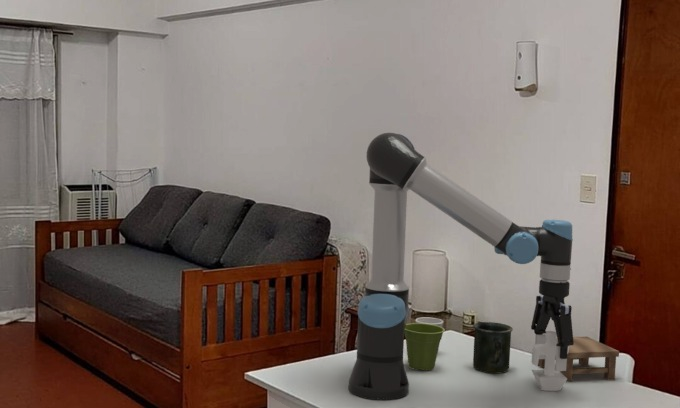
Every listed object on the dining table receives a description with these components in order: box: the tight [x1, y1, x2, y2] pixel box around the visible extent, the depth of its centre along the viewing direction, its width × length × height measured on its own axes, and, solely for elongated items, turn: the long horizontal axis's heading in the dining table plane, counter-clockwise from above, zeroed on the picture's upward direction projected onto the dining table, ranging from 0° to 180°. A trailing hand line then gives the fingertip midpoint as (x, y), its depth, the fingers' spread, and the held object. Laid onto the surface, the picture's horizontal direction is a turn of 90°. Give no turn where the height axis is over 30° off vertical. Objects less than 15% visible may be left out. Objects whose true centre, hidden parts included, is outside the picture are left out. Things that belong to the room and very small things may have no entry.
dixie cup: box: [415, 316, 444, 328], centre depth 227 cm, size 8×8×10 cm
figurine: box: [531, 330, 569, 392], centre depth 197 cm, size 7×9×15 cm
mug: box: [472, 321, 514, 374], centre depth 212 cm, size 11×15×12 cm
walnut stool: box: [537, 336, 620, 383], centre depth 213 cm, size 16×16×8 cm
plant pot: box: [404, 322, 446, 372], centre depth 212 cm, size 12×12×11 cm
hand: (549, 364), depth 197 cm, fingers open, 10 cm apart
